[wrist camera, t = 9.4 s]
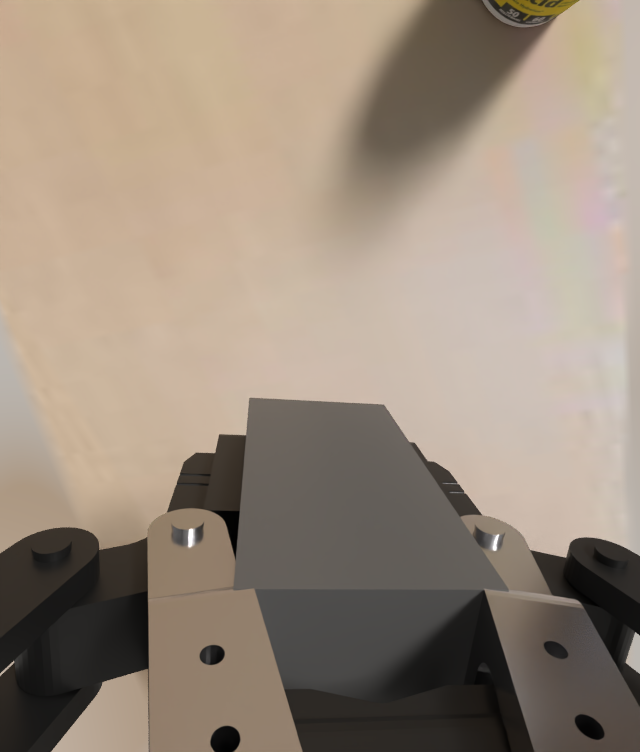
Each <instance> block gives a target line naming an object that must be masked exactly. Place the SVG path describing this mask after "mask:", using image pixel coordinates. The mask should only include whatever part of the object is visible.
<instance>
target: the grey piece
mask: <svg viewBox="0 0 640 752" xmlns="http://www.w3.org/2000/svg"><path fill="white" fill-rule="evenodd" d="M252 588H254V590H255V593H256V596H257V599H258V603H259V606H260V609H261V613H262V616H263V620H264V623H265V626H266V630H267V633H268V637H269V640H270V643H271V647H272V650H273V653H274V657H275V660H276V664H277V667H278V670H279V674H280V677H281V681H282V684H283V687H284V689H314V690H318V691H323V692H328V693H333V694H338V695H342V696H347V697H352V698H357V699H361V700H366V701H371V702H376V703H389V702H393V701H396V700H399V699H403V698H406V697H409V696H413V695H416V694H419V693H423V692H426V691H429V690H433V689H436V688H440V687H443V686H447V685H463V684H464V680H465V675H466V670H467V666H468V661H469V657H470V652H471V647H472V643H473V638H474V634H475V629H476V624H477V620H478V615H479V611H480V606H481V601H482V597H483V592H484V589H488V590H505V591H509V589H508V587H507V586H506V584H505V583H504V581H503V580H502V578H501V577H500V575H499V574H498V573H497V571H496V570H495V568H494V567H493V565H492V564H491V562H490V561H489V559H488V558H487V556H486V555H485V553H484V552H483V550H482V549H481V547H480V546H479V544H478V543H477V542H476V540H475V539H474V537H473V536H472V534H471V533H470V531H469V530H468V528H467V527H466V525H465V524H464V522H463V521H462V519H461V518H460V516H459V515H458V513H457V512H456V510H455V509H454V508H453V506H452V505H451V503H450V502H449V500H448V499H447V497H446V496H445V494H444V493H443V491H442V490H441V488H440V487H439V485H438V484H437V482H436V481H435V479H434V478H433V476H432V475H431V474H430V472H429V471H428V469H427V468H426V466H425V465H424V463H423V462H422V460H421V459H420V457H419V456H418V454H417V453H416V451H415V450H414V448H413V447H412V445H411V444H410V443H409V441H408V440H407V438H406V437H405V435H404V434H403V432H402V431H401V429H400V428H399V426H398V425H397V423H396V422H395V420H394V419H393V417H392V416H391V414H390V413H389V411H388V410H387V409H386V407H385V406H384V405H379V404H360V403H340V402H321V401H301V400H282V399H263V398H249V409H248V421H247V433H246V445H245V457H244V468H243V480H242V492H241V504H240V516H239V528H238V539H237V551H236V563H235V575H234V587H233V590H240V589H252Z"/></svg>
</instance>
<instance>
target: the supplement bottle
mask: <svg viewBox="0 0 640 752" xmlns="http://www.w3.org/2000/svg"><path fill="white" fill-rule="evenodd" d="M482 1H483V3H484V4H485V6H486V7H487V9H488V10H489V11H490V12H491V13H492V14H493V15H494V16H495V17H496V18H497V19H499V20H500V21H502V22H504V23H506V24H508V25H511V26H515V27H533V26H538V25H541V24H544V23H546V22H548V21H550V20H552V19H553V18H555V17H557V16H558V15H560V14H561V13H563V12H564V11H565V10H567V9H568V8H569V7H571V6H572V5H574V4H575V3H576V2H578V1H579V0H482Z"/></svg>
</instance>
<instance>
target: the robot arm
mask: <svg viewBox="0 0 640 752" xmlns="http://www.w3.org/2000/svg"><path fill="white" fill-rule="evenodd" d="M409 443H410V444H411V445H412V447H413V448H414V450H415V451H416V453H417V454H418V456H419V457H420V459H421V460H422V462H423V463H424V465H425V466H426V468H427V469H428V471H429V472H430V474H431V475H432V476H433V478H434V479H435V481H436V482H437V484H438V485H439V487H440V488H441V490H442V491H443V493H444V494H445V496H446V497H447V499H448V500H449V502H450V503H451V505H452V506H453V508H454V509H455V510H456V512H457V513H458V515H459V516H460V518H461V519H462V521H463V522H464V524H465V525H466V527H467V528H468V530H469V531H470V533H471V534H472V536H473V537H474V539H475V540H476V542H477V543H478V544H479V546H480V547H481V549H482V550H483V552H484V553H485V555H486V556H487V558H488V559H489V561H490V562H491V564H492V565H493V567H494V568H495V570H496V571H497V573H498V574H499V575H500V577H501V578H502V580H503V581H504V583H505V584H506V586H507V587H508V589H509V591H505V590H488V589H484V592H483V597H482V601H481V606H480V611H479V615H478V620H477V624H476V629H475V634H474V638H473V643H472V647H471V652H470V657H469V661H468V666H467V670H466V675H465V680H464V684H463V685H447V686H443V687H440V688H436V689H433V690H429V691H426V692H423V693H419V694H416V695H413V696H409V697H406V698H403V699H399V700H396V701H393V702H389V703H376V702H371V701H366V700H361V699H357V698H352V697H347V696H342V695H338V694H333V693H328V692H323V691H318V690H314V689H284V687H283V684H282V681H281V677H280V674H279V670H278V667H277V664H276V660H275V657H274V653H273V650H272V647H271V643H270V640H269V637H268V633H267V630H266V626H265V623H264V620H263V616H262V613H261V609H260V606H259V603H258V599H257V596H256V593H255V590H254V588H252V589H240V590H233V587H234V575H235V563H236V551H237V539H238V528H239V516H240V504H241V492H242V480H243V468H244V457H245V445H246V435H224V434H219V438H218V443H217V448H216V452H215V453H195V454H194V455H193V456H191V457H190V458H189V459H187V460H186V461H185V462H184V464H183V467H182V470H181V472H180V476H179V478H178V481H177V485H176V487H175V490H174V493H173V496H172V499H171V502H170V505H169V508H168V511H167V513H165V514H163V515H161V516H159V517H158V518H156V519H155V520H154V521H153V522H152V523H151V524H150V526H149V528H148V533H147V538H145V539H143V540H140V541H138V542H135V543H132V544H128V545H124V546H119V547H114V548H108V549H103V550H99V542H98V539H97V538H96V536H94V535H93V534H92V533H90V532H89V531H86V530H83V529H78V528H54V529H49V530H45V531H41V532H37V533H35V534H32V535H30V536H28V537H25V538H24V539H22V540H20V541H18V542H17V543H15V544H14V545H12V546H11V547H10V548H8V549H6V550H5V551H3V552H2V553H0V673H1V672H2V671H3V670H4V669H5V668H6V667H7V666H8V665H9V664H10V663H11V662H13V661H14V664H13V665H12V666H11V667H10V668H9V669H8V670H6V671H5V672H4V673H3V674H2V675H1V676H0V752H51V751H52V750H53V748H54V747H55V746H56V745H57V743H58V742H59V741H60V740H61V738H62V737H63V736H64V735H65V734H66V732H67V731H68V730H69V729H70V727H71V726H72V725H73V724H74V722H75V721H76V720H77V719H78V717H79V716H80V715H81V714H82V712H83V711H84V710H85V709H86V708H87V706H88V705H89V704H90V703H91V701H92V700H93V699H94V698H95V696H96V695H97V693H98V692H99V690H100V688H101V686H102V682H104V681H107V680H110V679H114V678H117V677H121V676H124V675H127V674H131V673H134V672H138V671H141V670H145V669H148V712H149V752H640V674H639V673H638V672H636V671H635V670H634V669H632V668H631V667H630V666H629V665H628V664H626V663H625V662H626V659H627V655H628V652H629V649H630V646H631V643H632V640H633V637H634V634H635V632H636V633H637V634H639V635H640V556H639V555H637V554H635V553H633V552H632V551H630V550H628V549H626V548H624V547H622V546H620V545H617V544H615V543H612V542H609V541H606V540H602V539H597V538H587V537H586V538H578V539H575V540H573V541H572V542H571V543H570V546H569V550H568V553H567V557H566V558H564V557H559V556H555V555H550V554H545V553H541V552H536V551H532V550H530V549H529V547H528V545H527V543H526V541H525V539H524V537H523V536H522V535H521V533H520V532H519V531H517V530H516V529H515V528H513V527H512V526H511V525H509V524H507V523H505V522H503V521H500V520H498V519H495V518H492V517H488V516H483V515H482V514H481V513H480V512H479V510H478V509H477V508H476V506H475V505H474V504H473V502H472V501H471V500H470V498H469V497H468V496H467V494H464V490H463V489H462V488H461V487H460V485H459V484H457V481H456V480H455V479H454V477H453V476H452V475H451V473H450V472H449V471H448V470H446V469H445V468H443V467H441V466H440V465H438V464H437V463H435V462H428V461H427V460H426V458H425V457H424V455H423V454H422V453H421V451H420V450H419V448H418V447H417V445H416V444H415V443H411V442H409Z"/></svg>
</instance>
